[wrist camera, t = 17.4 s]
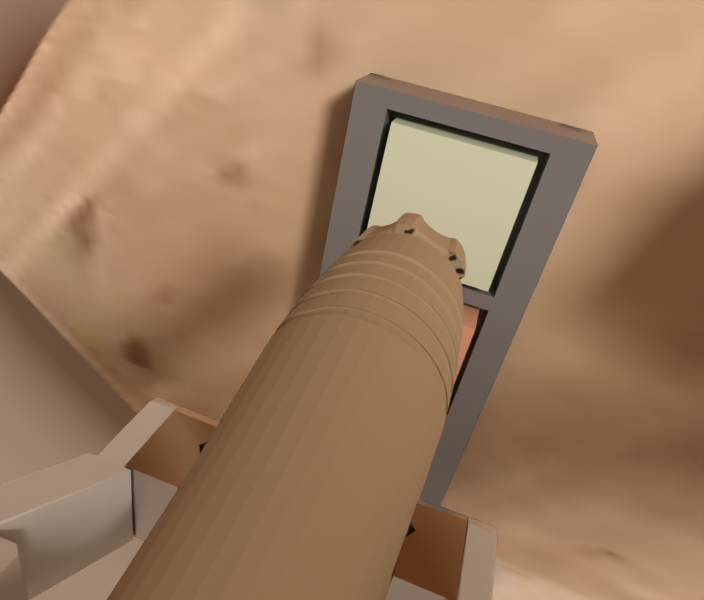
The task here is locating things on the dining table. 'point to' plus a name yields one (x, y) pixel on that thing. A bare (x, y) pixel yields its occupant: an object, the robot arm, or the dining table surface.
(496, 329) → the keypad
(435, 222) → the key sage
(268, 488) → the handle
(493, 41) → the dining table surface
